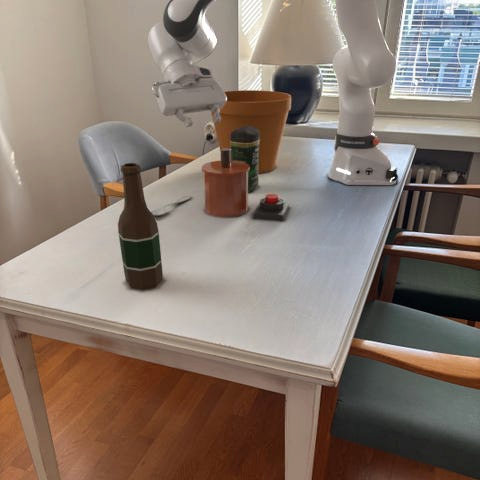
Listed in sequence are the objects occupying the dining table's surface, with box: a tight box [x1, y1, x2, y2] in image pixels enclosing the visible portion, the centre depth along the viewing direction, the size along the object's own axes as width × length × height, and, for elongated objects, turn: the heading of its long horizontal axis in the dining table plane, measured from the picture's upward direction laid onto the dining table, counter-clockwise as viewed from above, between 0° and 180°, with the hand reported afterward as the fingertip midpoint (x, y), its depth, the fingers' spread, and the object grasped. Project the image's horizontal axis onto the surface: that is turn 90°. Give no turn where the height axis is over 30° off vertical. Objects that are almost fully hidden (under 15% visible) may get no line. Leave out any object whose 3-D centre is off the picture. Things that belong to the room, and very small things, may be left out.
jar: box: [202, 171, 249, 218], centre depth 134 cm, size 12×12×12 cm
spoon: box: [150, 196, 191, 217], centre depth 138 cm, size 4×21×2 cm, turn 155°
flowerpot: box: [209, 89, 292, 174], centre depth 169 cm, size 28×28×24 cm
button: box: [265, 193, 280, 204], centre depth 133 cm, size 4×4×2 cm
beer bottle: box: [117, 162, 164, 291], centre depth 94 cm, size 8×8×24 cm
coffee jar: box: [230, 126, 260, 193], centre depth 148 cm, size 10×8×19 cm
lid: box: [201, 148, 250, 176], centre depth 130 cm, size 13×13×6 cm
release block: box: [253, 197, 290, 222], centre depth 134 cm, size 11×8×4 cm
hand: (204, 123), depth 132 cm, fingers open, 8 cm apart
